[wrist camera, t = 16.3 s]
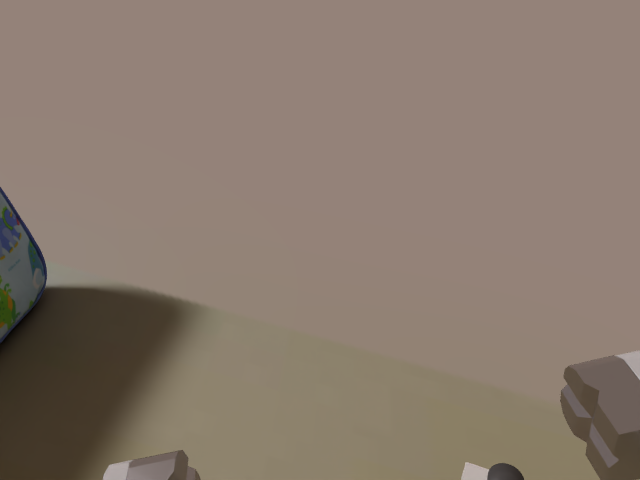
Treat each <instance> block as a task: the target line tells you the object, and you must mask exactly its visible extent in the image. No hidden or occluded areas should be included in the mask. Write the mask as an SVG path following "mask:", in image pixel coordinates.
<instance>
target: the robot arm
mask: <svg viewBox="0 0 640 480" xmlns="http://www.w3.org/2000/svg"><path fill="white" fill-rule="evenodd" d="M564 379H565V380H566V382H567V385H566V386H565V387H564V388H563V389H562V390H561V400H560V402H561V406H562V411H563V414H564V417H565V419H566V421H567V424H568V425H569V427H570V429H571V431H572V432H573V434H574V435H575V436H577V437H578V438H580V439H582V440H583V441H585V442H586V443H587V447H586V454H585V455H586V456H587V458H588V460H589V461H590V463H591V465H592V466H593V468H594V470H595V471H596V473H597V475H598V476H599V478H600V480H637V479H640V351H633V352H629V353H624V354H621V355H616V356H614V355H613V356H609V357H604V358H600V359H596V360H591V361H587V362H583V363H579V364H574V365H570V366H568V367H567V368H566V369H565V372H564ZM103 480H201V479H200V476H199V474H198V473H197V471H196V469H194V468H191V467H189V466H188V457H187V455H186V454H185V453H184V451H183V450H179V451H174V452H169V453H164V454H160V455H155V456H150V457H145V458H140V459H134V460H129V461H125V462H120V463H116V464H111V465H109V467H108V468H107V470H106V472H105V474H104V476H103Z"/></svg>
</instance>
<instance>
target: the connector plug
mask: <svg viewBox="0 0 640 480" xmlns="http://www.w3.org/2000/svg"><path fill="white" fill-rule="evenodd" d="M461 480H524V478H523V476H522V474H521V472H520V471H519V470H518V469H517V468H515V467H514V466H512V465H509V464H505V463H499V464H496V465H494V466H492V467H491V468H490V469H489V470H488V469H485V468H483V467H480V466H477V465H474V464H471V463H468V462H466V464H465V467H464V471H463V474H462V478H461Z"/></svg>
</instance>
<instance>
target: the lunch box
mask: <svg viewBox="0 0 640 480" xmlns="http://www.w3.org/2000/svg"><path fill="white" fill-rule="evenodd" d="M46 279H47V270H46V264H45V260H44V257H43V255H42V252H41V250H40V248H39V247H38V245H37V243H36V242H35V240H34V238H33V237H32V235H31V233H30V231H29V230H28V228H27V227H26V225H25V224H24V222H23V221H22V220H21V218H20V216H19V215H18V213H17V211H16V210H15V208H14V207H13V205H12V204H11V202H10V200H9V199H8V197H7V196H6V195H5V193H4V192H3V190H2V189H1V187H0V343H1V342H2V341H3V340H4V339H5V337H6V336H7V335H8V334H9V333H10V331H11V330H12V329H13V328H14V327H15V326H16V325H17V324H18V323H19V322H20V321H21V320H22V318H23V317H24V316H25V315H26V314H27V313H28V312H29V311H30V310H31V309H32V308H33V307H34V305H35V304H36V303H37V302H38V300H39V299H40V297H41V295H42V293H43V291H44V289H45V285H46Z"/></svg>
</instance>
